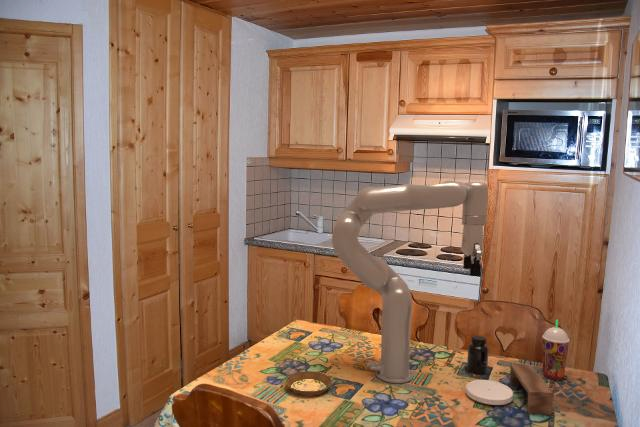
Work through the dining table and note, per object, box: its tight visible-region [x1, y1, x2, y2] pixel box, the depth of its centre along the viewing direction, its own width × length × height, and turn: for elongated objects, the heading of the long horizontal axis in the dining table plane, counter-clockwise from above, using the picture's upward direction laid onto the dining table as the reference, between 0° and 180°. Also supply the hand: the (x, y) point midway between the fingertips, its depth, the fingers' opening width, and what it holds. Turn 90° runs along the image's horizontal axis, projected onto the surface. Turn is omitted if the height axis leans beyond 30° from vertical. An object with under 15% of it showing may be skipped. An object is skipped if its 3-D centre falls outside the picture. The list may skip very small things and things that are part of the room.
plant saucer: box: [285, 371, 333, 396], centre depth 168 cm, size 15×15×3 cm
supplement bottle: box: [466, 335, 489, 375], centre depth 182 cm, size 7×7×12 cm
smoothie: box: [542, 319, 570, 381], centre depth 177 cm, size 8×8×20 cm
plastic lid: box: [465, 379, 514, 406], centre depth 164 cm, size 14×14×2 cm
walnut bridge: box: [508, 363, 554, 416], centre depth 162 cm, size 6×20×7 cm, turn 176°
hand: (471, 272), depth 171 cm, fingers open, 9 cm apart
